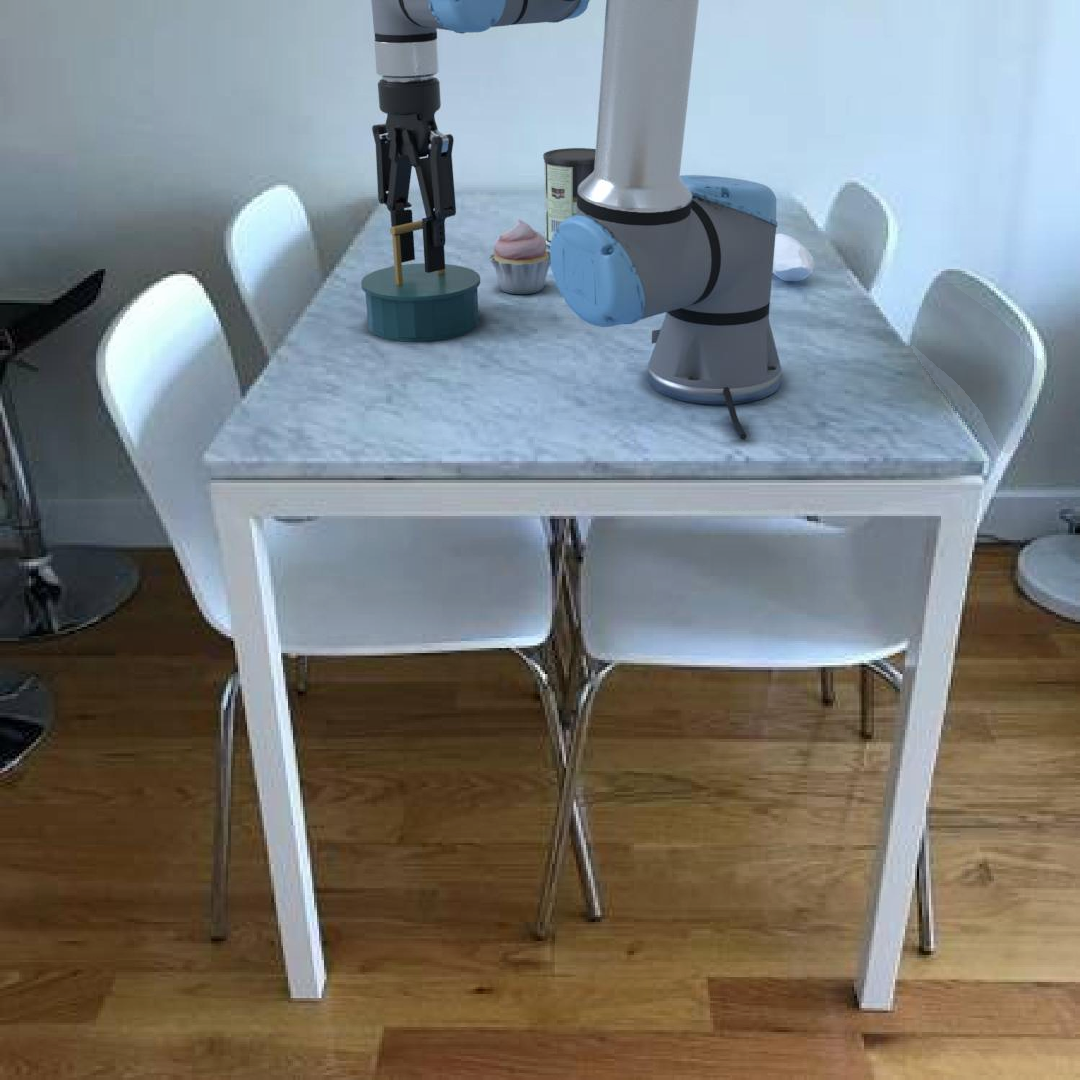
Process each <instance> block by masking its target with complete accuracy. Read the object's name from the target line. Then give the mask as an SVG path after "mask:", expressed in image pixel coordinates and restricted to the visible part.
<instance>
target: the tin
mask: <svg viewBox="0 0 1080 1080" xmlns="http://www.w3.org/2000/svg"><path fill="white" fill-rule="evenodd" d="M364 294H365V304H366V315H367V317H366V318H367V326H368V329H369V331H370V333H372V334H374V335H375V336H377V337H379V338H383V339H386V340H390V341H398V342H408V343H409V342H410V343H411V342H412V343H422V342H423V343H424V342H426V343H427V342H436V341H443V340H449V339H454V338H458V337H461V336H463V335H466V334H468V333H470V332H472V331H473V330H475V329H476V328H477V327H478V325H479V320H480V317H479V295H478V287H477V288H476V289H474V290H472V291H470V292H468V293H466V294H463V295H459V296H455V297H451V298H446V299H439V300H430V301H397V300H388V299H383V298H378V297H375V296H372V295H369V294H367V293H366V292H364Z"/></svg>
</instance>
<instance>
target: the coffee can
mask: <svg viewBox="0 0 1080 1080" xmlns="http://www.w3.org/2000/svg"><path fill="white" fill-rule="evenodd" d="M595 153H596V148H589V147H588V148H586V147H569V148H557V149H553V150H552V149H551V150H549V151H545V152H544V153H543V154H542V155H543V157H542V158H543V162H544V163H543V165H544V220H545V221H544V222H545V223H544V227H545V230H544V231H545V238H544V240H545V241H546V246H548V247H550V245H551V239H552V236H553V233H554V231H555V229H556V228H558V227H559V225H560V223H561V222H562V221H564V220H565V219H566V218H567V217H571V216H573V215H576V209H577V194H578V186H579V184H580V183H581V182H582V181H583V180H585V179H586V178H587V177H588V176H589V175H590V174H591V173H593V171H594V166H595Z"/></svg>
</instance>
